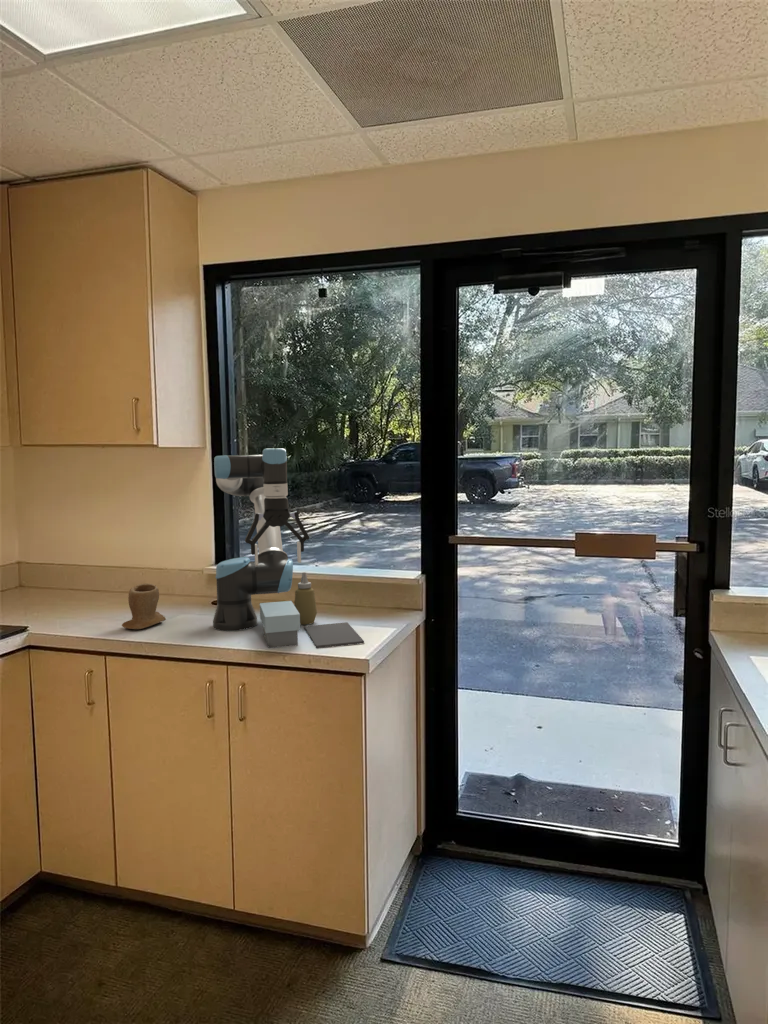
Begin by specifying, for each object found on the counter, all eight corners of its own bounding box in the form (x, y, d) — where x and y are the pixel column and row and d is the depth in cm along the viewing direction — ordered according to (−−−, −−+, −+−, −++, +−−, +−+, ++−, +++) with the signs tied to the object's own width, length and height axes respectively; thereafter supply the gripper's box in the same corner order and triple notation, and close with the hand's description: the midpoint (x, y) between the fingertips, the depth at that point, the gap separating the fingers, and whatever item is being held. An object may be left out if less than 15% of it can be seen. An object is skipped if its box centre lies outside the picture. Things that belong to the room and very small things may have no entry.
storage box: (263, 632, 217) (262, 606, 216) (290, 630, 219) (289, 604, 219) (268, 648, 200) (267, 619, 199) (297, 645, 202) (296, 616, 201)
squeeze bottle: (297, 627, 223) (296, 575, 222) (291, 621, 231) (289, 571, 229) (320, 624, 227) (318, 573, 225) (313, 619, 234) (311, 569, 232)
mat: (304, 628, 222) (304, 626, 222) (347, 624, 226) (347, 622, 226) (316, 648, 199) (316, 645, 199) (364, 643, 203) (363, 641, 203)
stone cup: (142, 633, 219) (139, 589, 218) (117, 630, 225) (114, 587, 223) (175, 622, 233) (173, 581, 231) (150, 619, 238) (148, 579, 237)
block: (260, 617, 217) (259, 603, 217) (291, 615, 220) (291, 600, 219) (265, 633, 198) (265, 617, 198) (300, 629, 201) (299, 614, 201)
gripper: (236, 499, 198) (239, 568, 200) (317, 496, 205) (318, 562, 207) (234, 497, 206) (237, 564, 208) (312, 495, 213) (314, 559, 215)
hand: (278, 563), depth 207 cm, fingers open, 13 cm apart
